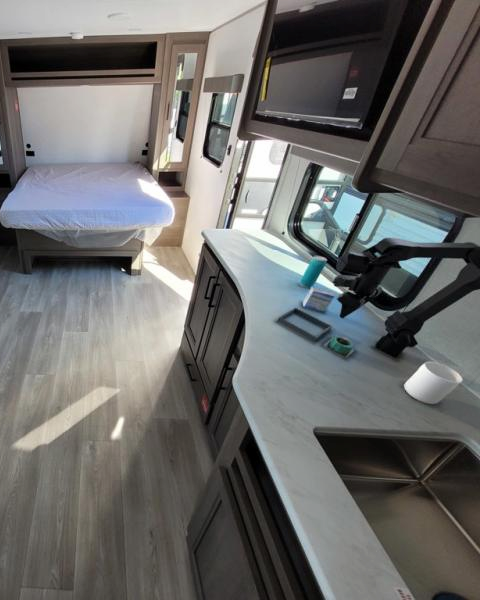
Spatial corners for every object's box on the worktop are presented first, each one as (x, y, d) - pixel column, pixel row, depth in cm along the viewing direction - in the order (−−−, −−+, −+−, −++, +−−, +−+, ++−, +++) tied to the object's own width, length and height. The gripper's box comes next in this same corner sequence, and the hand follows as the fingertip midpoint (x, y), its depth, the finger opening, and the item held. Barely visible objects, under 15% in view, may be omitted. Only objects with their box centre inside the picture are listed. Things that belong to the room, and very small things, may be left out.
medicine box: (303, 307, 133) (312, 291, 128) (302, 302, 137) (311, 286, 132) (324, 313, 131) (334, 296, 126) (323, 308, 134) (333, 291, 129)
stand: (354, 351, 112) (361, 341, 109) (345, 359, 108) (353, 348, 105) (331, 339, 117) (338, 329, 114) (322, 346, 113) (329, 336, 110)
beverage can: (308, 283, 151) (323, 255, 143) (314, 289, 147) (330, 261, 138) (296, 282, 152) (310, 254, 143) (302, 288, 147) (317, 260, 138)
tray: (329, 330, 121) (332, 326, 119) (313, 342, 115) (317, 337, 113) (292, 312, 130) (295, 307, 129) (276, 322, 124) (279, 317, 123)
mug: (396, 372, 104) (417, 350, 98) (428, 382, 101) (451, 360, 95) (406, 397, 95) (429, 375, 89) (441, 409, 92) (468, 387, 86)
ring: (352, 349, 112) (357, 343, 110) (345, 356, 109) (349, 350, 107) (333, 339, 116) (337, 333, 114) (325, 345, 113) (329, 339, 111)
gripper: (356, 260, 111) (334, 295, 120) (332, 272, 102) (310, 309, 111) (394, 273, 103) (368, 310, 112) (371, 288, 95) (344, 326, 104)
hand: (347, 313), depth 110 cm, fingers open, 9 cm apart
